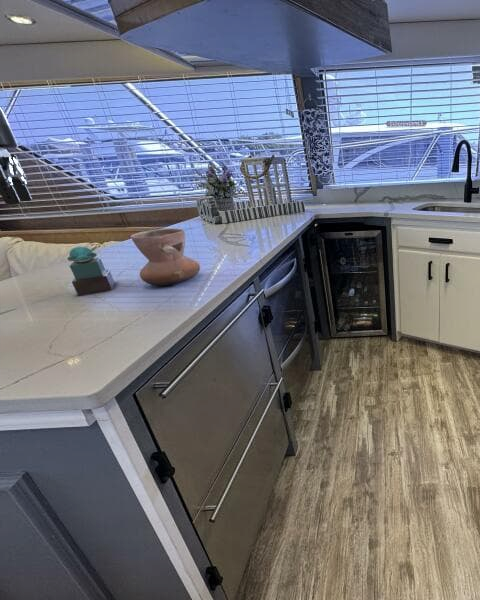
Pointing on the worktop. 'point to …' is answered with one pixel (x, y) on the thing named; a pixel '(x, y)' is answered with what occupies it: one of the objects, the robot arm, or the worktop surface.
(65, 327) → the worktop surface
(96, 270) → the green block
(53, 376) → the worktop surface
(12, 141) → the robot arm
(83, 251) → the toy turtle
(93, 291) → the walnut block
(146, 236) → the ceramic jug
